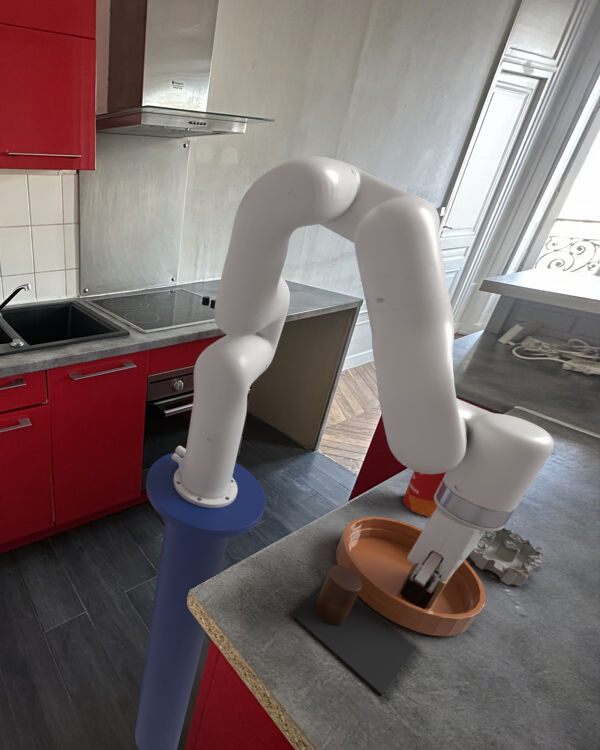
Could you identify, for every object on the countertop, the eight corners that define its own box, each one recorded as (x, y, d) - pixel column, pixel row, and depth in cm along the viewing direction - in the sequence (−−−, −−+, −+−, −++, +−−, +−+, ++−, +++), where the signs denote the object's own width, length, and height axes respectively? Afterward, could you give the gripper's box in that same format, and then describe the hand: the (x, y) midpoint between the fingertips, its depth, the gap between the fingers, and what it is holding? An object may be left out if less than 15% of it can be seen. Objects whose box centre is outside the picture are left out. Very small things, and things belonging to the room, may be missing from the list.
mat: (292, 617, 59) (293, 615, 59) (329, 583, 65) (329, 581, 64) (381, 696, 51) (382, 694, 50) (415, 649, 56) (416, 647, 56)
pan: (313, 566, 67) (321, 546, 65) (366, 520, 77) (374, 502, 75) (444, 665, 54) (459, 645, 52) (489, 595, 64) (502, 575, 62)
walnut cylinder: (309, 608, 60) (323, 573, 57) (324, 594, 62) (338, 560, 59) (336, 631, 57) (353, 596, 54) (350, 616, 59) (367, 581, 56)
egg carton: (517, 593, 64) (530, 575, 62) (460, 557, 70) (470, 540, 68) (541, 564, 69) (553, 547, 67) (486, 533, 75) (496, 516, 73)
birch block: (400, 588, 64) (413, 563, 61) (410, 575, 66) (424, 551, 63) (429, 608, 61) (445, 584, 58) (440, 595, 63) (455, 570, 60)
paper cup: (405, 487, 85) (432, 431, 79) (450, 509, 80) (482, 451, 74) (390, 502, 81) (416, 444, 75) (435, 527, 76) (468, 467, 70)
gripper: (461, 464, 62) (416, 548, 70) (414, 510, 53) (368, 600, 61) (526, 494, 57) (469, 581, 65) (486, 550, 48) (426, 643, 56)
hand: (421, 590), depth 63 cm, fingers open, 5 cm apart
